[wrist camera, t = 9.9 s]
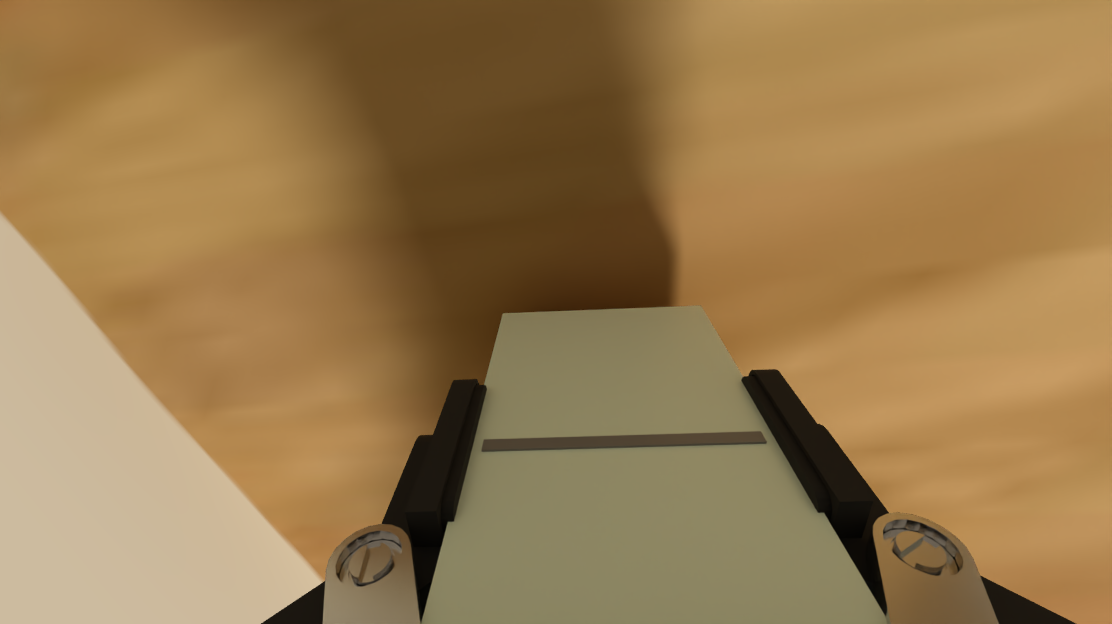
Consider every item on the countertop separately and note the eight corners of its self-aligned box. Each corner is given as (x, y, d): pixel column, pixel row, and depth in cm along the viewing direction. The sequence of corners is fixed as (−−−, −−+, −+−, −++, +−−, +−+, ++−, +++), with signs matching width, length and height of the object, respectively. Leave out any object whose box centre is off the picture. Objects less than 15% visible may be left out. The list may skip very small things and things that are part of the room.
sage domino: (694, 374, 16) (977, 1020, 5) (510, 380, 16) (396, 1011, 5) (700, 304, 15) (1076, 932, 4) (502, 312, 15) (338, 927, 4)
